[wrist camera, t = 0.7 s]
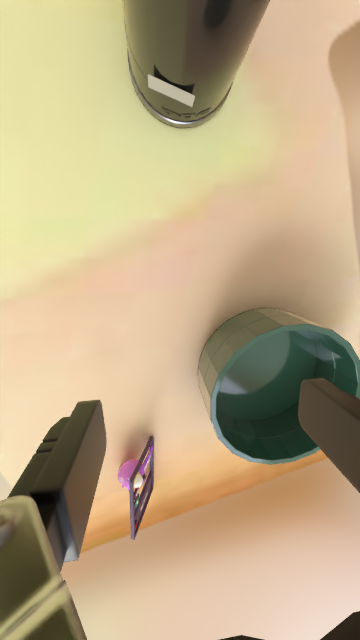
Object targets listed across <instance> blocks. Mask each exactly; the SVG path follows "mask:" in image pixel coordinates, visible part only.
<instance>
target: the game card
mask: <svg viewBox="0 0 360 640" xmlns="http://www.w3.org/2000/svg"><path fill="white" fill-rule="evenodd" d="M153 446H154V438H153V437H150V439H149V441H148V443H147V445H146V447H145V449H144V451H143V453H142V455H141V457H140V460H139V461H138V460H135V459H132V460H128V461H126V462H125V463H123V464H122V466H121V467H120V469H119V472H118V479H119V481H120V483H121V484H122V487H124V486H125V487H126V488H128V490H129V493H130V519H131V539H133V540H134V539H135V537H136V534H137V531H138V529H139V526H140V523H141V520H142V518H143V515H144V512H145V509H146V507H147V504H148V501H149V498H150V496H151V493H152V490H153ZM149 447H150V452H149V454H148V456H147V458H146V459H145V461H144V463H143V464H142V462H143V460H144V458H145V456H146V454H147V451H148V449H149ZM149 459H150V473H149V475H148V478H147V480H146V483H145V485H144V487H143V490H142V492H141V495H140V497H139V493H138V492H139V487H140V486H141V485H142V484H143V482H144V481H145V478H146V466H147V464H148V462H149ZM134 489H135V491H134ZM134 500H135V502H134Z"/></svg>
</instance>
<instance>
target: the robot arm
mask: <svg viewBox="0 0 360 640" xmlns="http://www.w3.org/2000/svg"><path fill="white" fill-rule="evenodd" d="M122 2H123V10H124V18H125V28H126V36H127V44H128V61H129V69H130V75H131V79H132V83H133V86H134V88H135V91H136V93H137V95H138V97H139V99H140V100H141V102H142V103H143V105H144V106H145V107H146V109H147V110H148V111H149V112H150V113H151V114H152V115H153V116H154V117H156V118H157V119H158V120H160V121H161V122H163V123H165V124H167V125H170V126H173V127H178V128H191V127H195V126H198V125H201V124H203V123H205V122H206V121H208V120H209V119H211V118H212V117H213V116H214V115H215V114H216V113H217V112H218V111H219V109H220V108H221V107H222V105H223V103H224V102H225V100H226V98H227V95H228V93H229V91H230V89H231V86H232V83H233V80H234V78H235V75H236V73H237V71H238V69H239V67H240V65H241V63H242V61H243V58H244V56H245V54H246V52H247V50H248V48H249V45H250V43H251V41H252V39H253V37H254V34H255V32H256V30H257V28H258V26H259V23H260V21H261V19H262V17H263V15H264V13H265V10H266V8H267V6H268V4H269V2H270V0H122ZM298 418H299V422H300V424H301V426H302V428H303V430H304V431H305V432H306V433H307V434H308V435H309V436H310V438H311V439H312V440H313V441H314V442H315V443H316V444H317V445H318V447H319V448H320V449H321V450H322V451H323V452H324V453H325V454H326V456H327V457H328V458H329V459H330V460H331V461H332V462H333V463H334V465H336V467H337V468H338V469H339V470H340V471H341V472H342V474H343V475H344V476H345V477H346V478H347V479H348V480H349V481H350V483H351V484H352V485H353V486H354V487H355V488H356V489H357V490H358V492H359V493H360V399H359V398H357V397H356V396H354V395H352V394H349V393H347V392H345V391H342V390H341V389H339V388H338V387H336V386H335V385H333V384H332V383H330V382H329V381H327V380H326V379H324V378H318V379H308V380H303V381H302V382H301V386H300V397H299V407H298ZM105 451H106V431H105V424H104V417H103V410H102V404H101V401H100V400H92V401H82V402H78V403H77V405H76V407H75V409H74V410H73V412H72V414H71V416H70V417H64V418H62V419H61V420H59V421H58V422H57V423H56V424H55V425H54V426H53V427H51V428H50V430H49V431H48V433H47V435H46V436H45V438H44V439H43V443H41V444H40V446H39V448H38V449H37V451H36V454H34V456H33V457H32V459H31V460H30V462H29V464H28V465H27V467H26V469H25V470H24V472H23V473H22V475H21V477H20V478H19V480H18V481H17V483H16V485H15V486H14V488H13V490H12V491H11V493H10V494H9V496H8V498H7V499H5V500H2V501H0V640H87V638H86V635H85V633H84V630H83V627H82V624H81V621H80V618H79V616H78V613H77V610H76V608H75V605H74V602H73V599H72V596H71V594H70V591H69V588H68V586H67V584H66V582H65V580H64V581H63V579H62V576H61V573H60V572H61V569H62V566H63V562H69V561H76V560H78V558H79V554H80V550H81V546H82V542H83V538H84V534H85V530H86V527H87V523H88V519H89V515H90V511H91V507H92V503H93V499H94V495H95V491H96V487H97V483H98V479H99V475H100V471H101V468H102V464H103V460H104V456H105ZM220 640H263V639H258V638H253V637H248V636H243V635H240V636H235V637H230V638H225V639H220ZM320 640H360V611H359V612H354V613H352V614H351V615H350V616H349V617H348V618H346V619H345V620H344V621H343V622H341V623H340V624H339V625H338V626H336V627H335V628H334V629H333V630H332V631H330V632H329V633H328V634H327V635H325V636H324V637H323V638H322V639H320Z"/></svg>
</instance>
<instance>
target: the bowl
mask: <svg viewBox="0 0 360 640" xmlns="http://www.w3.org/2000/svg"><path fill="white" fill-rule="evenodd" d="M318 378H324V379H326V380H327V381H329V382H330V383H332V384H333V385H335V386H336V387H338V388H339V389H341V390H342V391H345V392H347V393H349V394H352V395H354V396H356V397H357V398H359V399H360V360H359V358H358V356H357V355H356V353H355V351H354V349H353V348H352V346H351V344H350V343H349V342H348V341H346V340H345V339H344V338H342V337H341V336H340V335H338V334H337V333H336V332H334V331H333V330H331V329H329V328H326V327H324V326H322V325H319V324H317V323H314V322H312V321H310V320H307V319H305V318H303V317H300V316H298V315H296V314H293V313H289V312H287V311H283V310H280V309H273V308H261V309H254V310H250V311H246V312H244V313H241V314H239V315H236V316H235V317H233V318H231V319H229V320H228V321H227V322H225V323H224V324H223V325H221V326H220V327H219V328H218V329H217V330H216V331H215V332H214V333H213V335H212V336H211V337H210V339H209V340H208V342H207V343H206V345H205V347H204V349H203V351H202V354H201V357H200V360H199V365H198V381H199V387H200V390H201V393H202V396H203V399H204V402H205V405H206V408H207V411H208V414H209V416H210V419H211V422H212V424H213V427H214V429H215V432H216V435H217V437H218V439H219V440H220V441H221V442H222V443H223V444H224V445H225V446H226V447H227V448H228V449H229V450H230V451H231V452H232V453H233V454H235V455H237V456H239V457H241V458H243V459H245V460H248V461H250V462H256V463H263V464H270V465H272V464H280V463H287V462H294V461H296V460H299V459H301V458H304V457H306V456H309V455H311V454H314V453H316V452H317V451H318V450H320V448H319V447H318V445H317V444H316V443H315V442H314V441H313V440H312V439H311V438H310V436H309V435H308V434H307V433H306V432H305V431H304V430H303V428H302V426H301V424H300V422H299V418H298V407H299V397H300V386H301V382H302V381H303V380H308V379H318Z"/></svg>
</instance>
